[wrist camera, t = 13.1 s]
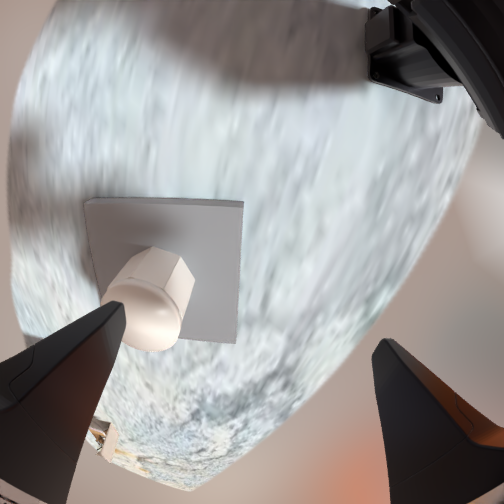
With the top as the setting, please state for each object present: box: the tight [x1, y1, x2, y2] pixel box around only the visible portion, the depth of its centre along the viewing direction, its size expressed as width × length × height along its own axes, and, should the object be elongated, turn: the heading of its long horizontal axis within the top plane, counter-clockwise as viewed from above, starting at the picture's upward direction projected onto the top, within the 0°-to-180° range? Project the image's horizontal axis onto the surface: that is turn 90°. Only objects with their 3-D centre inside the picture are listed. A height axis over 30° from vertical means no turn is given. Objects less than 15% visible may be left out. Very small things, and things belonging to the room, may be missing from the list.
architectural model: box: [89, 423, 119, 463], centre depth 34 cm, size 3×7×7 cm, turn 173°
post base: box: [83, 198, 244, 344], centre depth 19 cm, size 12×12×6 cm
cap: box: [100, 246, 195, 352], centre depth 18 cm, size 5×5×5 cm
